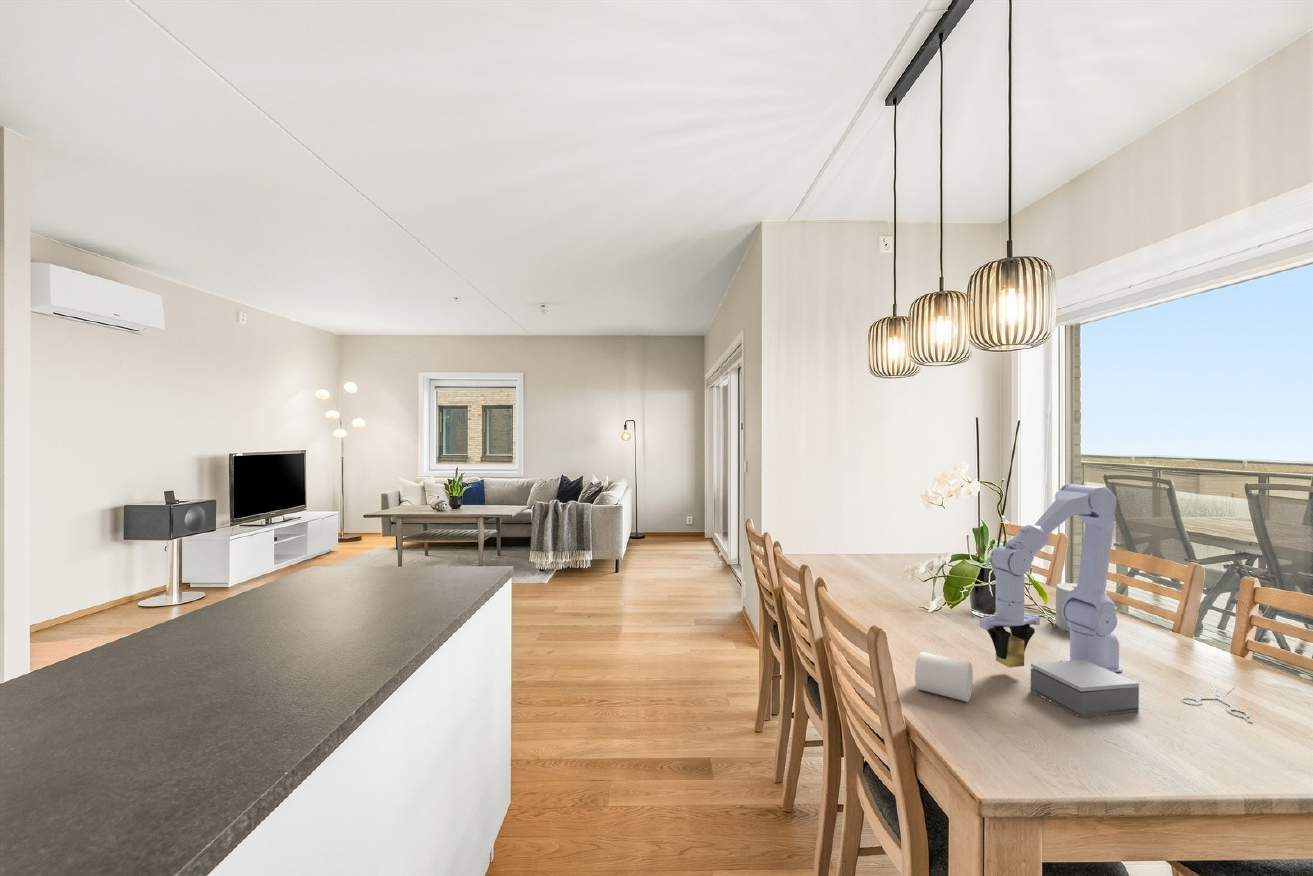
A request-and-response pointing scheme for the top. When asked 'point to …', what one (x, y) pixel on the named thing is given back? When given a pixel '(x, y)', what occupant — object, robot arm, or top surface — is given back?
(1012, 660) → the block
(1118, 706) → the box
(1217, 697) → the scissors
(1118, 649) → the robot arm
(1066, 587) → the toilet paper roll
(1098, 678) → the lid
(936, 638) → the top surface
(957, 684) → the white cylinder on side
